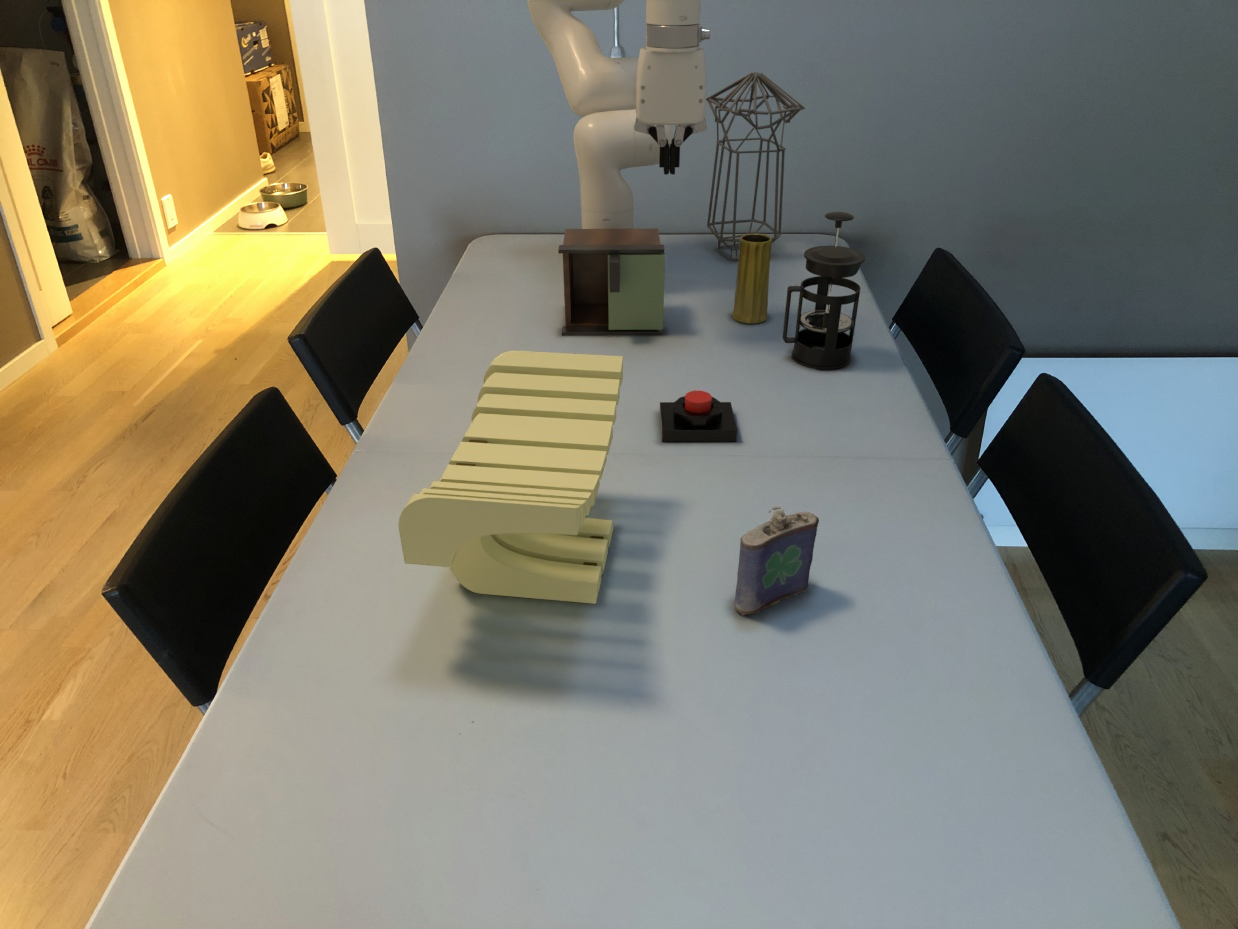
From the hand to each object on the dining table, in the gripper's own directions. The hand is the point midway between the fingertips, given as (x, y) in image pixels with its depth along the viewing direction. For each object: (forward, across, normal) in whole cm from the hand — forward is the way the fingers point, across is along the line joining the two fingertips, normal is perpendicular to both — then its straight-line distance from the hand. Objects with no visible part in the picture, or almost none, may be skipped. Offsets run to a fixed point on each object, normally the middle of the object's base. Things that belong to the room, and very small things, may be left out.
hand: (669, 172), depth 131 cm
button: (+24, -3, +31) cm, 39 cm away
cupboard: (+27, +9, -7) cm, 29 cm away
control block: (+27, -3, +31) cm, 41 cm away
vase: (+27, -15, -8) cm, 32 cm away
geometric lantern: (+27, -18, -44) cm, 55 cm away
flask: (+27, -8, +66) cm, 72 cm away
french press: (+27, -24, +8) cm, 37 cm away
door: (+26, +5, 0) cm, 27 cm away
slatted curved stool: (+27, +17, +60) cm, 68 cm away
